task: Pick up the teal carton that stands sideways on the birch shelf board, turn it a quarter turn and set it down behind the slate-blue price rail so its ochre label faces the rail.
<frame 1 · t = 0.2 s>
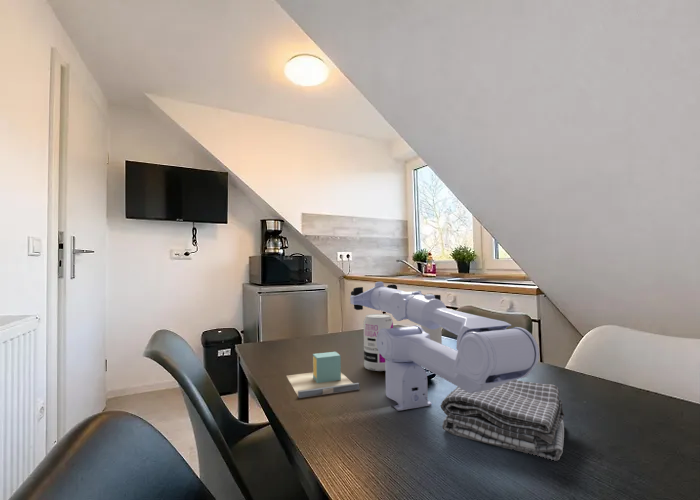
hand: (365, 294, 95), 21 cm above the table, tool horizontal, fingers open, 7 cm apart
shelf board: (320, 386, 85), on the table
travel mug: (431, 357, 110), on the table
carton: (315, 380, 86), point 1 cm above the table, touching shelf board
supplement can: (378, 370, 97), on the table
towel: (505, 433, 62), on the table
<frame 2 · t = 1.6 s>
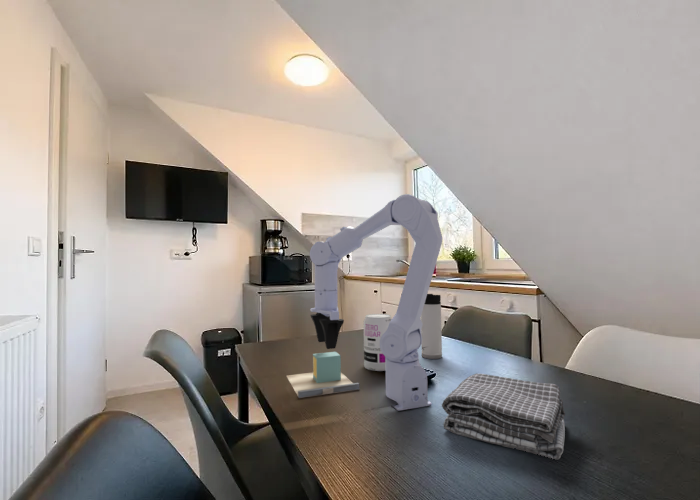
hand: (326, 344, 87), 9 cm above the table, tool pointing down, fingers open, 7 cm apart
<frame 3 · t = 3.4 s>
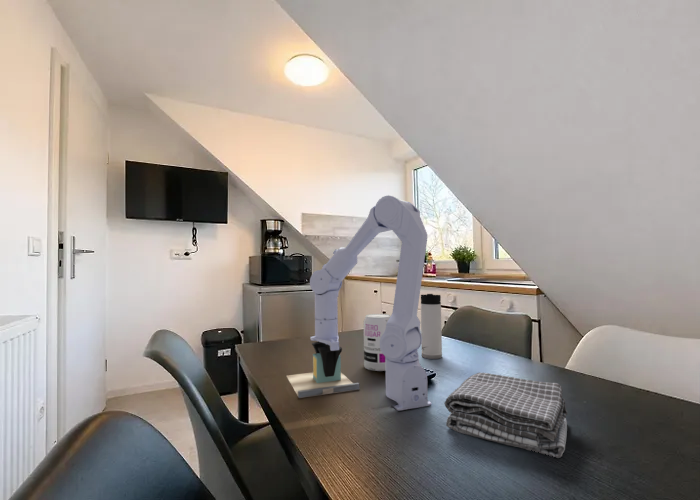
hand: (326, 373, 87), 2 cm above the table, tool pointing down, fingers closed on carton, 4 cm apart
carton: (315, 380, 86), point 1 cm above the table, touching gripper, shelf board
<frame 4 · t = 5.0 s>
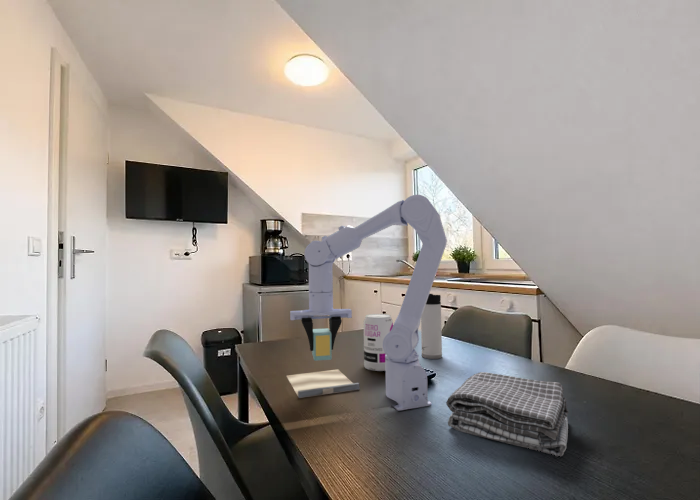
hand: (321, 349, 83), 9 cm above the table, tool pointing down, fingers closed on carton, 4 cm apart
carton: (322, 360, 80), point 8 cm above the table, touching gripper
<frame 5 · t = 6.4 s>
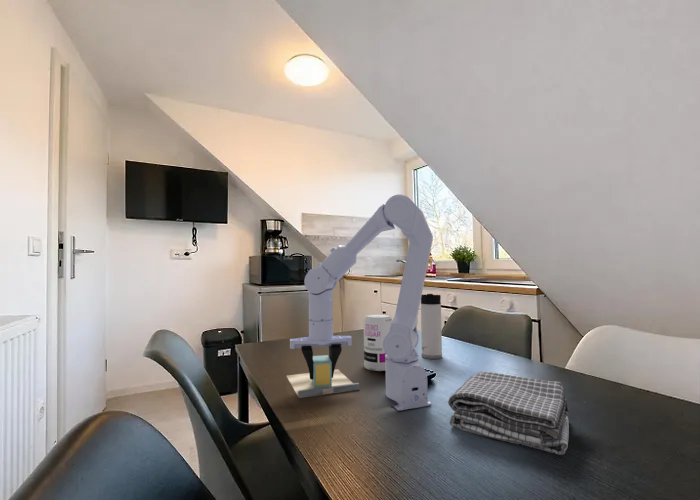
hand: (321, 377, 83), 3 cm above the table, tool pointing down, fingers closed on carton, 4 cm apart
carton: (323, 389, 79), point 1 cm above the table, touching gripper
when the fingers open (3 cm above the table, at t = 7.1 s): carton stays where it is, resting on shelf board.
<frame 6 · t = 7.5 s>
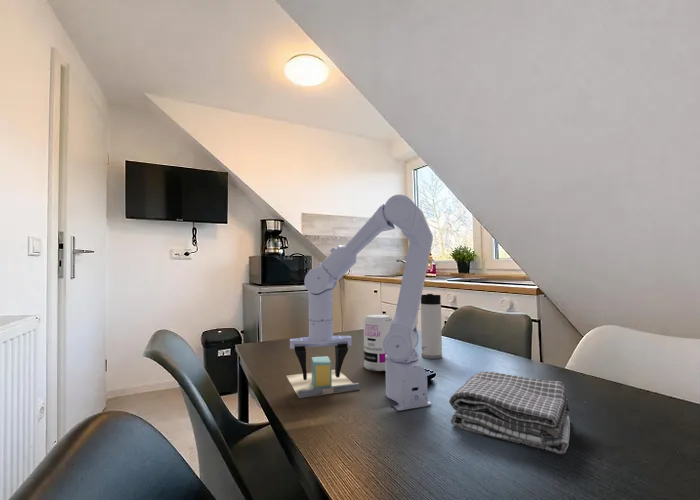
hand: (321, 377, 83), 3 cm above the table, tool pointing down, fingers open, 7 cm apart
carton: (322, 390, 79), point 1 cm above the table, touching shelf board
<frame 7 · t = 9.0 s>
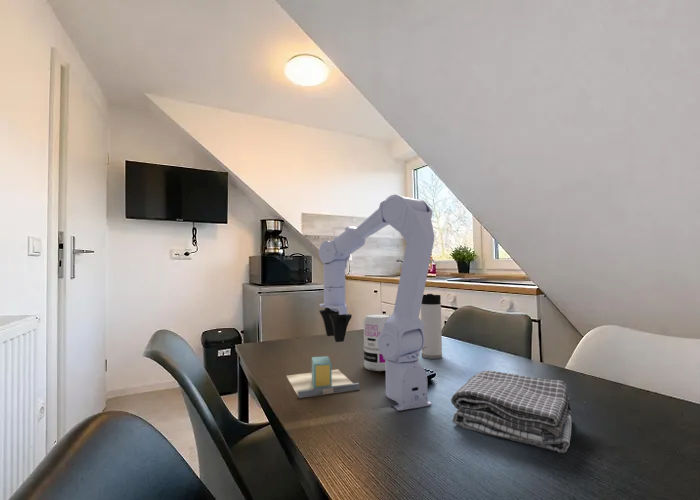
hand: (335, 338, 92), 10 cm above the table, tool pointing down, fingers open, 7 cm apart
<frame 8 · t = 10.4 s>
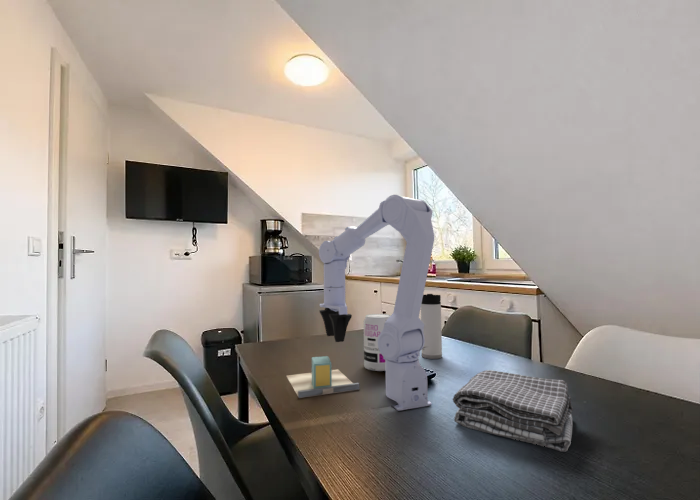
hand: (335, 338, 92), 10 cm above the table, tool pointing down, fingers open, 7 cm apart
at the end: carton 0.5 cm from the target spot, point 1.0 cm above the table; carton tilted 0°; the gripper is holding nothing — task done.
